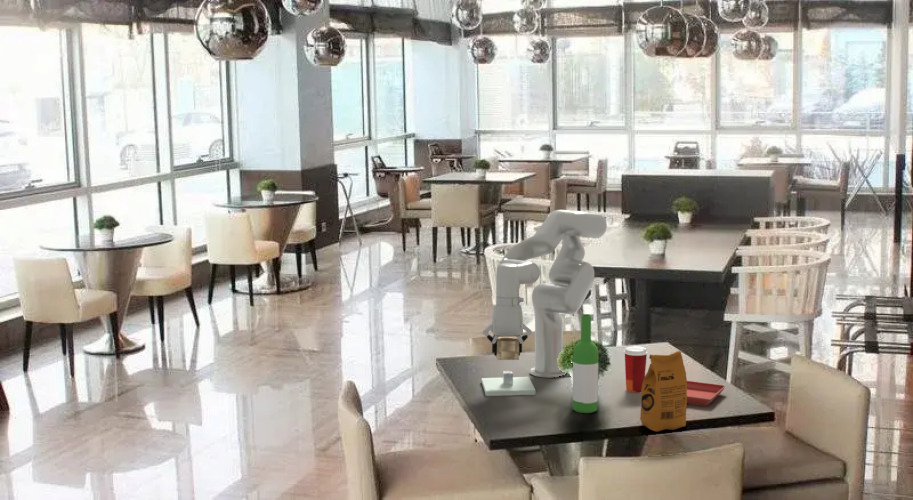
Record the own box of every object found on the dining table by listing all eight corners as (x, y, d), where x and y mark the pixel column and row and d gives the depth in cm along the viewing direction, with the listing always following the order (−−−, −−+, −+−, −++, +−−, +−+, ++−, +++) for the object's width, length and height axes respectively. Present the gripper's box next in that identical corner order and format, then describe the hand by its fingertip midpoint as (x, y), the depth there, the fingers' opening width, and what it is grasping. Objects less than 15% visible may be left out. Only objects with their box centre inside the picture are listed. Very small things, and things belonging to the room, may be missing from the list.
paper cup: (649, 388, 368) (650, 347, 366) (643, 394, 361) (644, 352, 359) (626, 385, 371) (627, 344, 369) (619, 392, 364) (620, 350, 362)
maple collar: (516, 354, 371) (516, 336, 370) (518, 359, 364) (519, 341, 363) (495, 354, 370) (495, 337, 370) (497, 359, 364) (497, 341, 363)
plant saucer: (671, 387, 370) (671, 378, 370) (725, 394, 362) (726, 384, 361) (654, 402, 354) (654, 391, 354) (710, 409, 346) (710, 399, 345)
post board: (528, 381, 378) (528, 365, 377) (535, 394, 362) (535, 378, 361) (481, 382, 377) (481, 366, 376) (486, 396, 361) (485, 379, 360)
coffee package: (635, 423, 332) (637, 351, 328) (671, 418, 336) (673, 347, 333) (653, 433, 323) (655, 359, 319) (690, 428, 327) (692, 354, 324)
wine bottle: (578, 405, 350) (579, 311, 346) (601, 408, 346) (603, 313, 342) (568, 411, 344) (569, 316, 339) (591, 415, 340) (592, 318, 335)
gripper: (532, 299, 369) (531, 351, 371) (480, 299, 368) (479, 352, 370) (535, 303, 361) (534, 357, 364) (482, 303, 360) (481, 357, 363)
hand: (506, 354), depth 367 cm, fingers closed on maple collar, 7 cm apart
